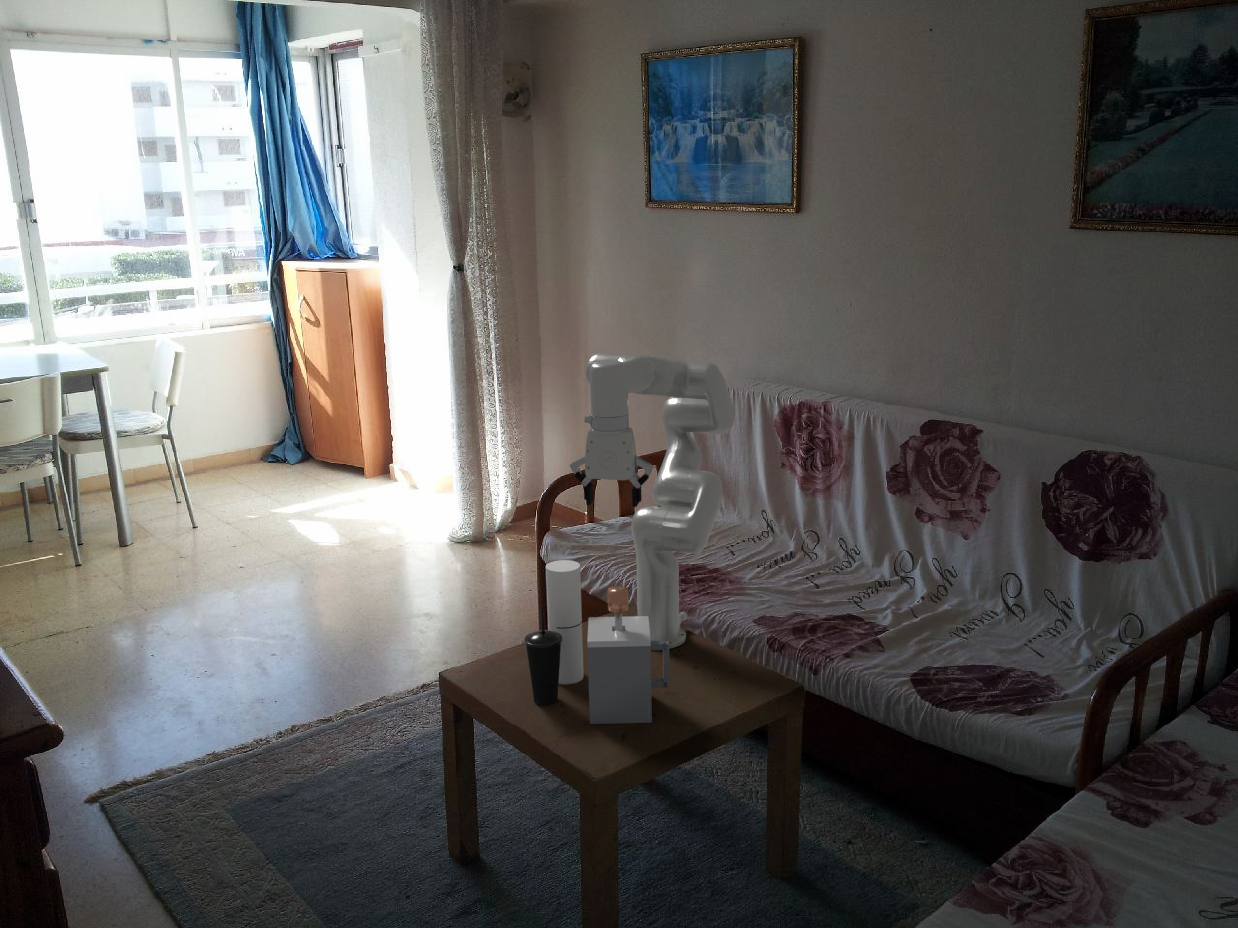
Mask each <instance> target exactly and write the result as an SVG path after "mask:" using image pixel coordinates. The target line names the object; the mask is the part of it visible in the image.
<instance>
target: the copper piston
mask: <svg viewBox="0 0 1238 928" xmlns="http://www.w3.org/2000/svg"><path fill="white" fill-rule="evenodd" d="M607 610H608V611H609V612H612V613H614V617H615V631H622V617H623V613H624V612H628V610H629V588H628V587H627V586H623V585H612V586H610V587H608V588H607Z"/></svg>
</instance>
